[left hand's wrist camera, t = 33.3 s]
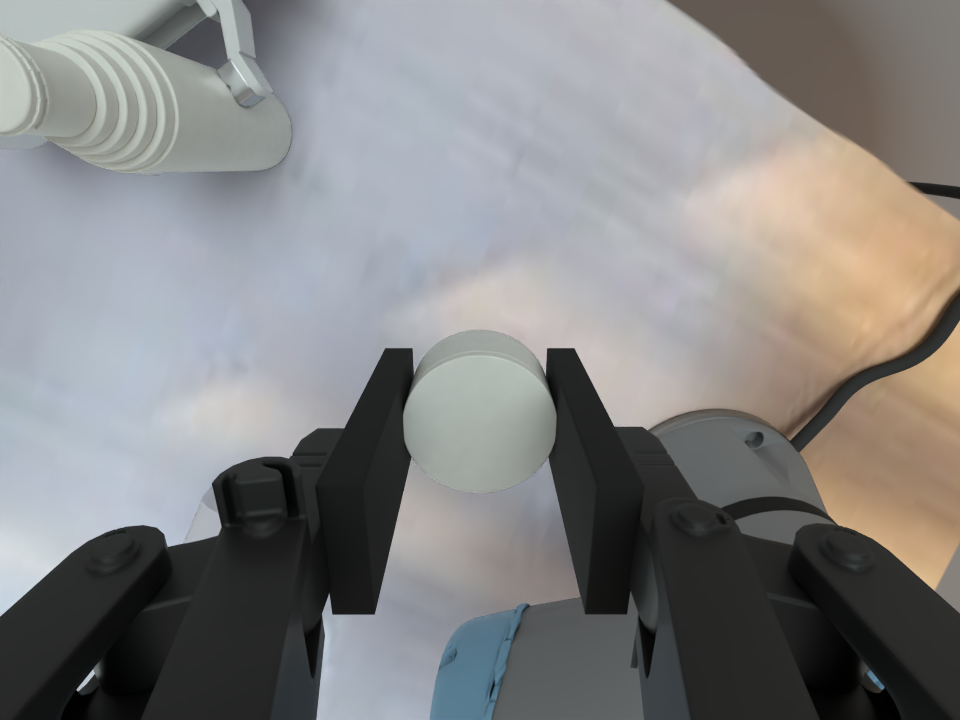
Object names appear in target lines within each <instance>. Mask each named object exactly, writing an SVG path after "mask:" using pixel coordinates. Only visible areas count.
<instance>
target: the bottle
mask: <svg viewBox="0 0 960 720" xmlns="http://www.w3.org/2000/svg"><path fill="white" fill-rule="evenodd" d="M216 70H217V69H214V68H211V67H209V66H206V65H203V64H201V63H198V62H195V61H192V60H190V59H187V58H184V57H181V56H179V55H176V54H173V53H171V52H168V51H165V50H162V49H160V48H157V47H154V46H151V45H149V44H146V43H143V42H141V41H138V40H135V39H132V38H130V37H127V36H124V35H121V34H119V33H116V32H112V31H108V30H99V29H94V30H93V29H76V30H72V31H68V32H65V33H63V34H59V35H56V36H53V37H50V38H46V39H43V40H41V41H37V42H33V43H30V44H26V43H22V42H18V41H15V40H13V39H12V38H9V37H7V36H5V35H2V34H0V135H1V136H9V137H11V136H18V135H22V134H26V135H40V136H42V137H44V138H46V139H47V140H49V141H51V142H53V143H55V144H56V145H58V146H60V147H61V148H63V149H65V150H67V151H69V152H70V153H72V154H74V155H76V156H77V157H79V158H81V159H82V160H84V161H86V162H88V163H90V164H92V165H95V166H98V167H101V168H105V169H108V170H111V171H115V172H120V173H165V172H216V171H260V170H266V169H269V168H272V167H274V166H275V165H277V164H278V163H279V162H281V161H282V159H283V158H284V157H285V156H286V154H287V152H288V150H289V147H290V144H291V139H292V128H291V122H290V119H289V116H288V113H287V111H286V109H285V107H284V106H283V104H282V103H281V101H280V100H279V99H278V98H277V97H276V96H275V95H274V94H273V93H272V94H271V95H270V96H269V97H267V98H265V99H264V100H262V101H261V102H260V103H258V104H257V105H255V106H254V107H252V108H249V107H248V106H247V107H244V106H242V105H241V104H239V103H238V102H237V101H236V99H235V98H234V97H233V95H232V93H231V90H230V86H228V85H226V84H225V83H224V81H223V80H222V79H221V77H220V76H219V74H218V73H217V71H216Z"/></svg>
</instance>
